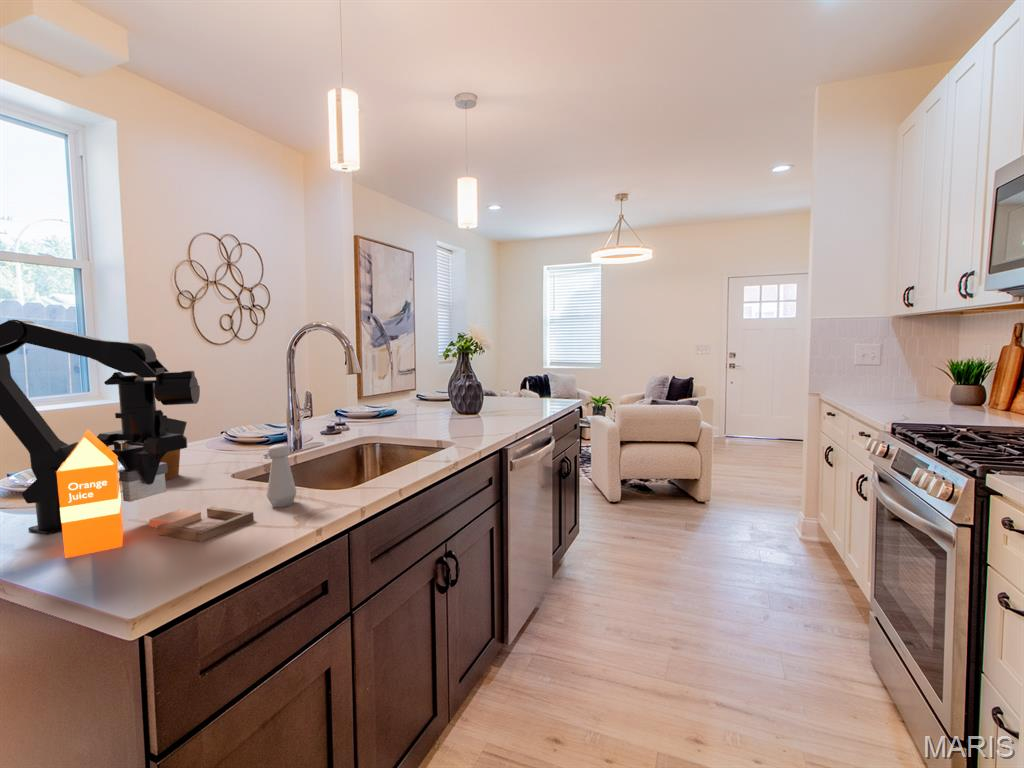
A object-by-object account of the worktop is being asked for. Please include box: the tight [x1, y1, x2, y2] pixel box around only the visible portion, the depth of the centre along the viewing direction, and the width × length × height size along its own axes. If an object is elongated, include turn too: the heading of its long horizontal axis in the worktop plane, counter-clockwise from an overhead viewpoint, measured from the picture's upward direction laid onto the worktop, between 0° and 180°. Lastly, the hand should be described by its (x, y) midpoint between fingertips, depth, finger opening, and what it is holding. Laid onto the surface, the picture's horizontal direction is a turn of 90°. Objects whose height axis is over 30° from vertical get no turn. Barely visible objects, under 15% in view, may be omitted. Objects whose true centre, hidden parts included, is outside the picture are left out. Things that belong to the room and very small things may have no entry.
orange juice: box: [57, 429, 125, 559], centre depth 88 cm, size 8×9×20 cm
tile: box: [148, 509, 202, 528], centre depth 99 cm, size 6×6×2 cm
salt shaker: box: [266, 443, 297, 508], centre depth 109 cm, size 6×6×13 cm
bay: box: [156, 506, 255, 543], centre depth 96 cm, size 11×11×2 cm
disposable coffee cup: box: [160, 449, 181, 481], centre depth 133 cm, size 10×10×12 cm
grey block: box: [118, 462, 168, 503], centre depth 101 cm, size 3×8×6 cm, turn 159°
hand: (144, 483), depth 101 cm, fingers closed on grey block, 3 cm apart
